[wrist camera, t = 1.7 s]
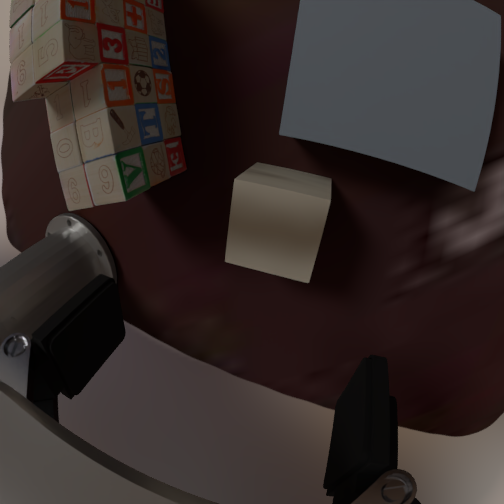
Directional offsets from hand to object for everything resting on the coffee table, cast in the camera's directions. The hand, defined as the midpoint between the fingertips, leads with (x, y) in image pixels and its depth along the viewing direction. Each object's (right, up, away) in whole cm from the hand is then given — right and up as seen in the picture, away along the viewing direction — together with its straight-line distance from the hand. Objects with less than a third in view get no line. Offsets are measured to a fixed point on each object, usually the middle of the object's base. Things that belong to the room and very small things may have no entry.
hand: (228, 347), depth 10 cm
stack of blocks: (-9, +20, +12) cm, 25 cm away
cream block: (+4, +7, +14) cm, 16 cm away
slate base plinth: (+11, +17, +7) cm, 21 cm away
